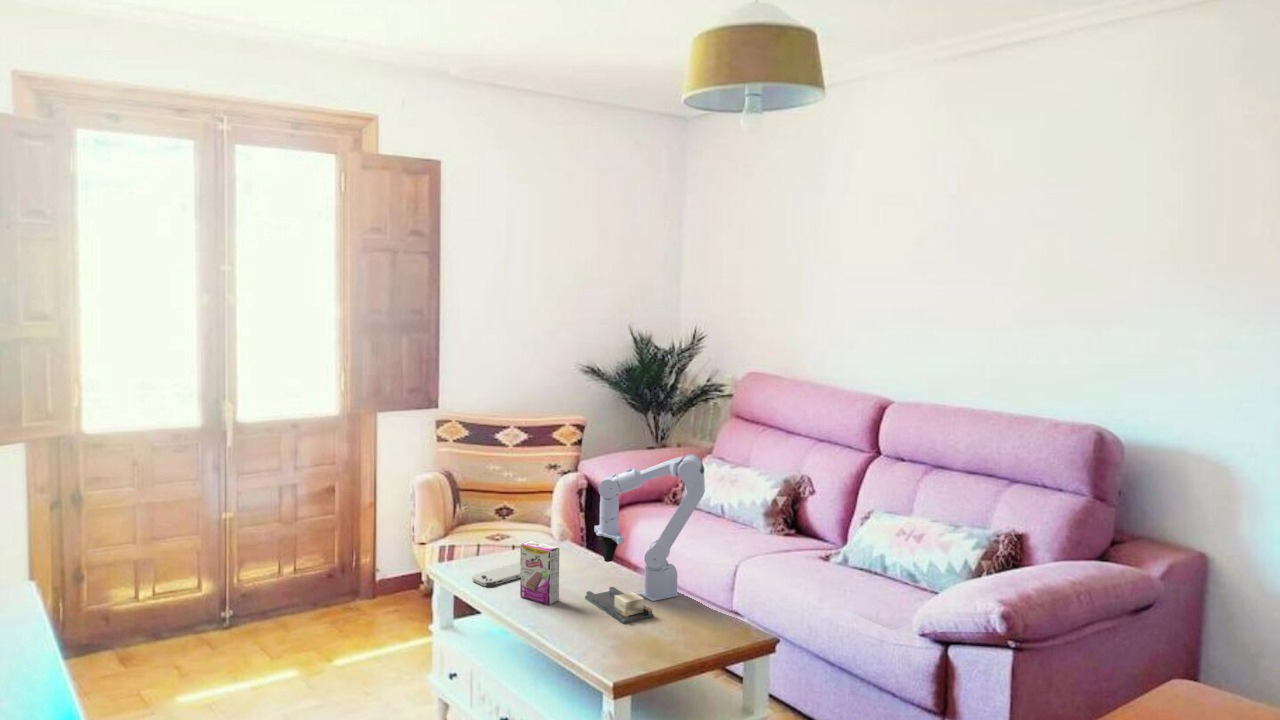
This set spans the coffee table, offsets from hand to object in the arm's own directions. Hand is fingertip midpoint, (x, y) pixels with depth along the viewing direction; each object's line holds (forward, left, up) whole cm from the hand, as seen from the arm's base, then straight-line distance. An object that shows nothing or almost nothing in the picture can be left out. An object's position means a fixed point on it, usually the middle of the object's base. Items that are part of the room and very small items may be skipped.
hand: (608, 561), depth 272 cm
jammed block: (+4, +19, -8) cm, 21 cm away
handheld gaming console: (+21, -27, -10) cm, 36 cm away
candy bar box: (+21, -4, -10) cm, 23 cm away
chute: (+4, +13, -9) cm, 17 cm away
